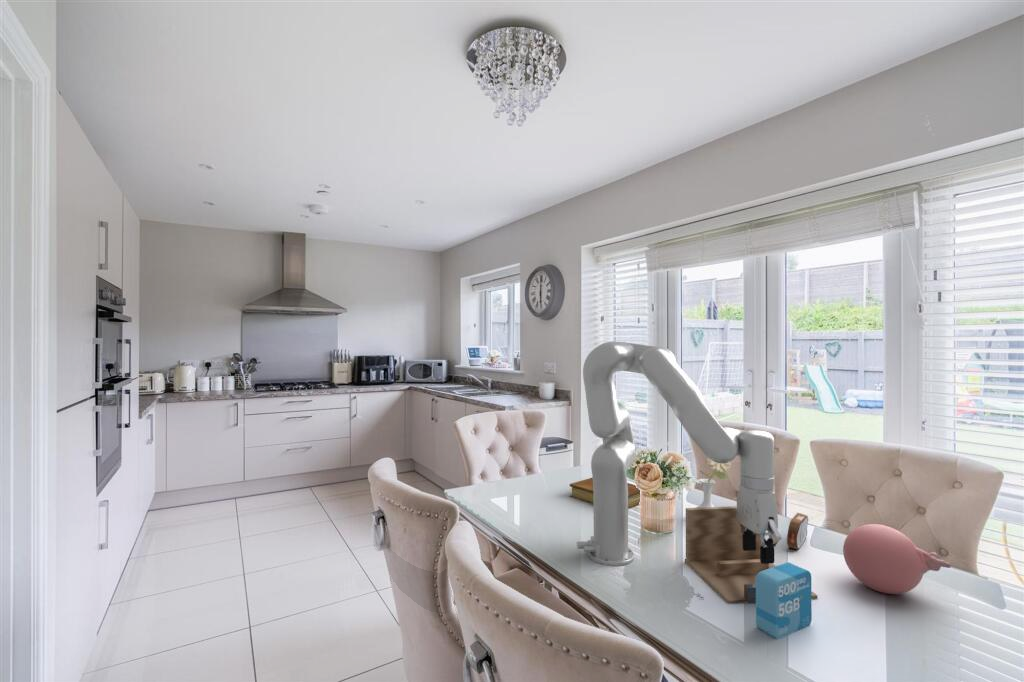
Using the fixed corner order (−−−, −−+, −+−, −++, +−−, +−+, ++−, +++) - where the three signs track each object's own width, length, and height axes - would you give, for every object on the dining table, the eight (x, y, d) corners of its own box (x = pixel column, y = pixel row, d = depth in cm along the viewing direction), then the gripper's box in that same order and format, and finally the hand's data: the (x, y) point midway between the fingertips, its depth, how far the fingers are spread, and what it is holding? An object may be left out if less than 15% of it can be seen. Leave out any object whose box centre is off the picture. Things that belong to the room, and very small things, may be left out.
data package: (775, 642, 94) (775, 582, 94) (755, 630, 98) (755, 572, 98) (812, 626, 99) (811, 569, 99) (791, 615, 103) (791, 560, 103)
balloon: (952, 624, 100) (952, 551, 100) (839, 591, 113) (839, 527, 113) (950, 595, 112) (949, 530, 112) (847, 568, 125) (847, 510, 125)
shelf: (728, 605, 107) (728, 539, 107) (684, 562, 128) (684, 507, 128) (817, 599, 110) (817, 535, 110) (760, 558, 130) (760, 504, 131)
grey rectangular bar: (748, 600, 107) (748, 587, 107) (744, 597, 109) (744, 584, 109) (800, 597, 109) (800, 584, 109) (796, 594, 110) (796, 581, 110)
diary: (648, 503, 177) (648, 487, 178) (618, 514, 165) (618, 498, 165) (600, 488, 195) (600, 474, 195) (569, 498, 183) (569, 483, 183)
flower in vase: (688, 525, 154) (688, 449, 154) (689, 514, 165) (689, 442, 165) (732, 531, 149) (732, 453, 149) (730, 519, 160) (730, 445, 160)
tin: (798, 535, 146) (797, 508, 146) (809, 538, 144) (809, 511, 144) (785, 551, 135) (785, 522, 135) (798, 554, 133) (798, 525, 133)
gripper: (722, 473, 123) (723, 542, 122) (765, 494, 105) (766, 574, 105) (749, 472, 123) (750, 540, 123) (796, 492, 106) (797, 572, 106)
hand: (758, 555), depth 114 cm, fingers open, 6 cm apart
